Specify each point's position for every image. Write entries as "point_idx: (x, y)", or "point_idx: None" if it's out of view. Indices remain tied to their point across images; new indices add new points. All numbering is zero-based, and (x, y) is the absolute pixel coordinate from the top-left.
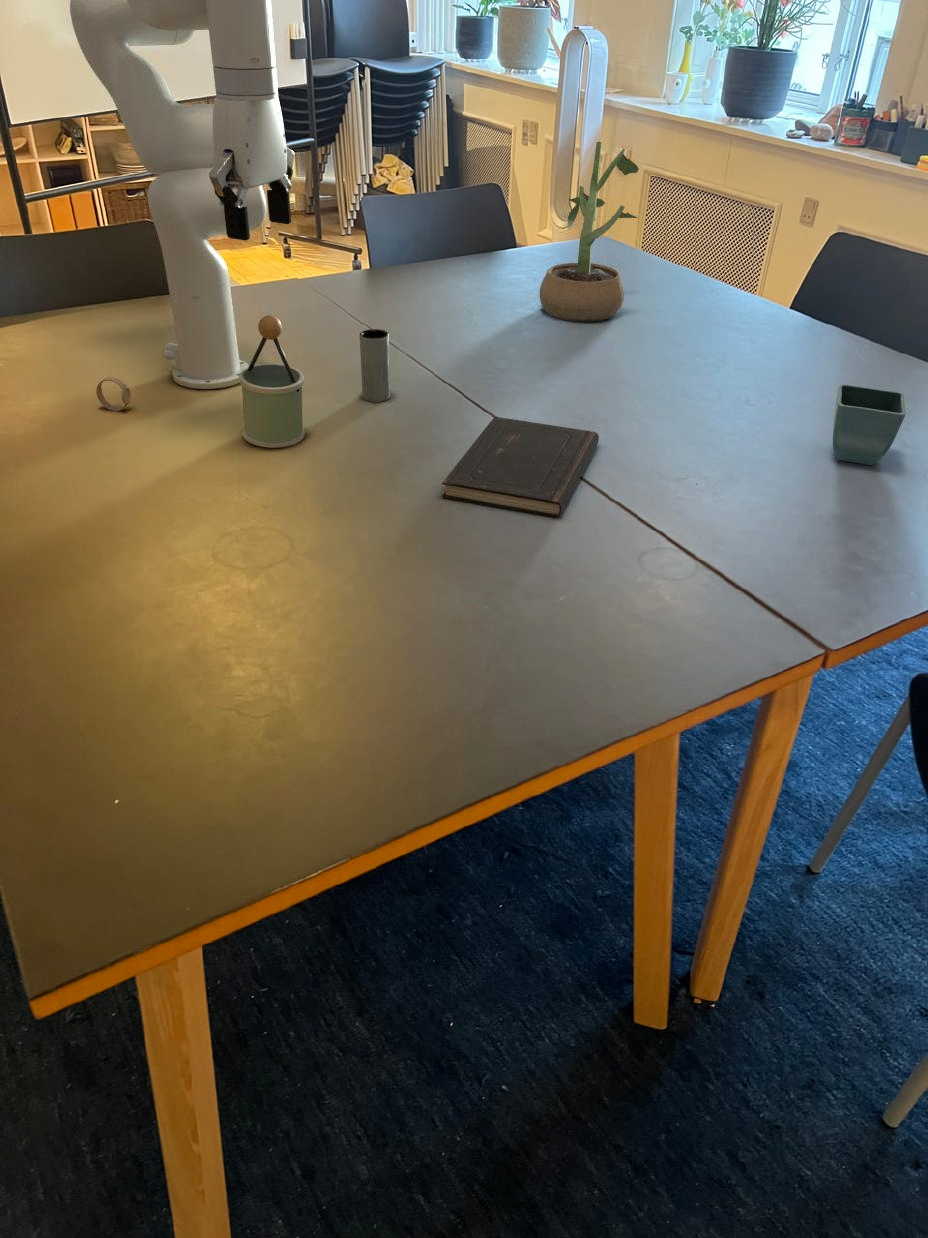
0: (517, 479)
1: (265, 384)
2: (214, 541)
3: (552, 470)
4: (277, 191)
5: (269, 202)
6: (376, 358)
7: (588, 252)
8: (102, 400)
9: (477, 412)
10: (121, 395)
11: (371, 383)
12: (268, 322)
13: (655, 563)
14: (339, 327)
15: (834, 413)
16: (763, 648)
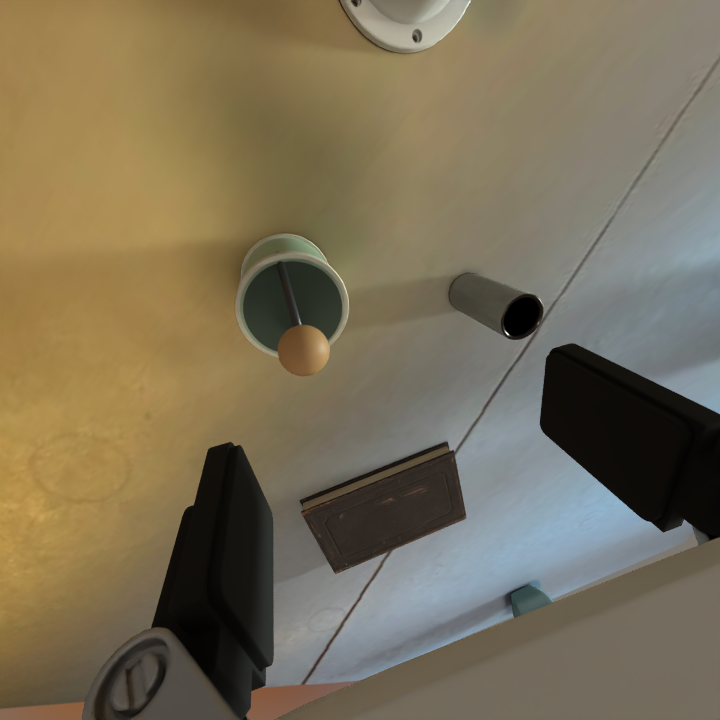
0: (348, 539)
1: (260, 331)
2: (48, 437)
3: (380, 543)
4: (679, 490)
5: (621, 402)
6: (485, 324)
7: None
8: None
9: (479, 403)
10: None
11: (462, 306)
12: (291, 369)
13: (321, 617)
14: (708, 6)
15: (549, 601)
16: (281, 677)
